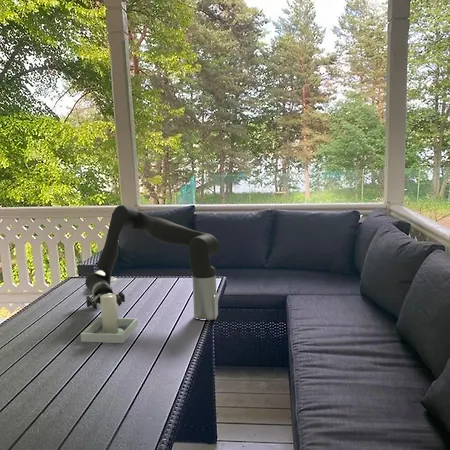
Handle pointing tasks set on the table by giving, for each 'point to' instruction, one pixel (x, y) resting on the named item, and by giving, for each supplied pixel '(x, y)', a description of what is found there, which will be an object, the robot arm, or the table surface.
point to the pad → (117, 333)
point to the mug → (104, 275)
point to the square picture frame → (109, 338)
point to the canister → (109, 313)
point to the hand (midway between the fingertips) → (107, 305)
